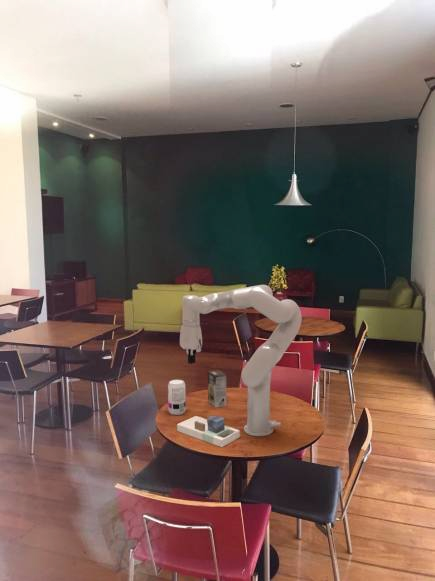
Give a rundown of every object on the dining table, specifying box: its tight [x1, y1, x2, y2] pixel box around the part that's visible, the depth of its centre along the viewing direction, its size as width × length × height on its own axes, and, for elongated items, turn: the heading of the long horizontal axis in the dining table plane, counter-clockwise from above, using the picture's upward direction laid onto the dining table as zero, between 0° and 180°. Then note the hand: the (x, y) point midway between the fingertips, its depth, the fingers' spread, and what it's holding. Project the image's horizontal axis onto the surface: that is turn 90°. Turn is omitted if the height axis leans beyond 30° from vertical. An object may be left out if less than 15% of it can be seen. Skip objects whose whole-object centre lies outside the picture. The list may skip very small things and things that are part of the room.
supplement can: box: [167, 379, 187, 416], centre depth 224 cm, size 8×8×15 cm
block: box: [208, 415, 226, 434], centre depth 196 cm, size 5×5×5 cm
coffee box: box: [207, 369, 227, 408], centre depth 234 cm, size 9×6×16 cm
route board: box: [176, 414, 241, 448], centre depth 200 cm, size 25×12×6 cm, turn 50°
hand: (191, 362), depth 211 cm, fingers closed
